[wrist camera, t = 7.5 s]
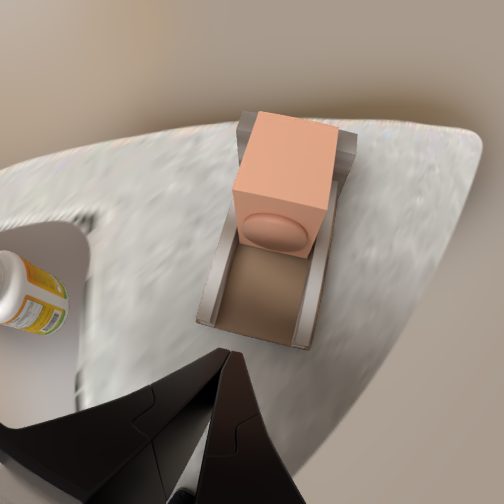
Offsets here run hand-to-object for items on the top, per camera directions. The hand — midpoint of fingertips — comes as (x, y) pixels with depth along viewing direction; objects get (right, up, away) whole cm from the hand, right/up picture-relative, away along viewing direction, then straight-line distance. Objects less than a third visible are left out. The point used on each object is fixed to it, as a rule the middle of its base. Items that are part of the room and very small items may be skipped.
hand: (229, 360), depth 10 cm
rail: (+3, +5, +15) cm, 16 cm away
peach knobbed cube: (+3, +6, +14) cm, 15 cm away
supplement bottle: (-17, -1, +14) cm, 22 cm away
